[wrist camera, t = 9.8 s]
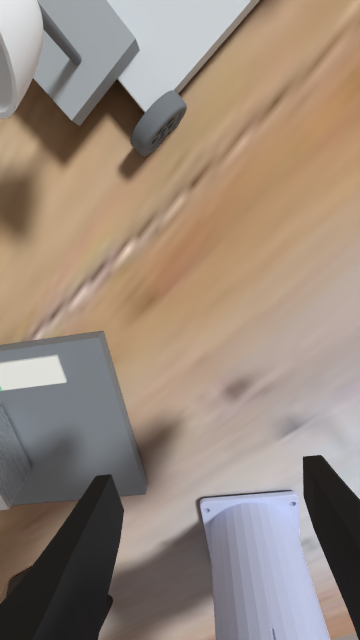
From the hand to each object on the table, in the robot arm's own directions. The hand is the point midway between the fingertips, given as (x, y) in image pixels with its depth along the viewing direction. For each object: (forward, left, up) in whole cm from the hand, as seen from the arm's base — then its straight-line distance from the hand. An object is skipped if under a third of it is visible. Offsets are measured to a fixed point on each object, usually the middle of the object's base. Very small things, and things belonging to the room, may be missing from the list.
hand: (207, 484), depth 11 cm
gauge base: (-4, +15, -9) cm, 18 cm away
